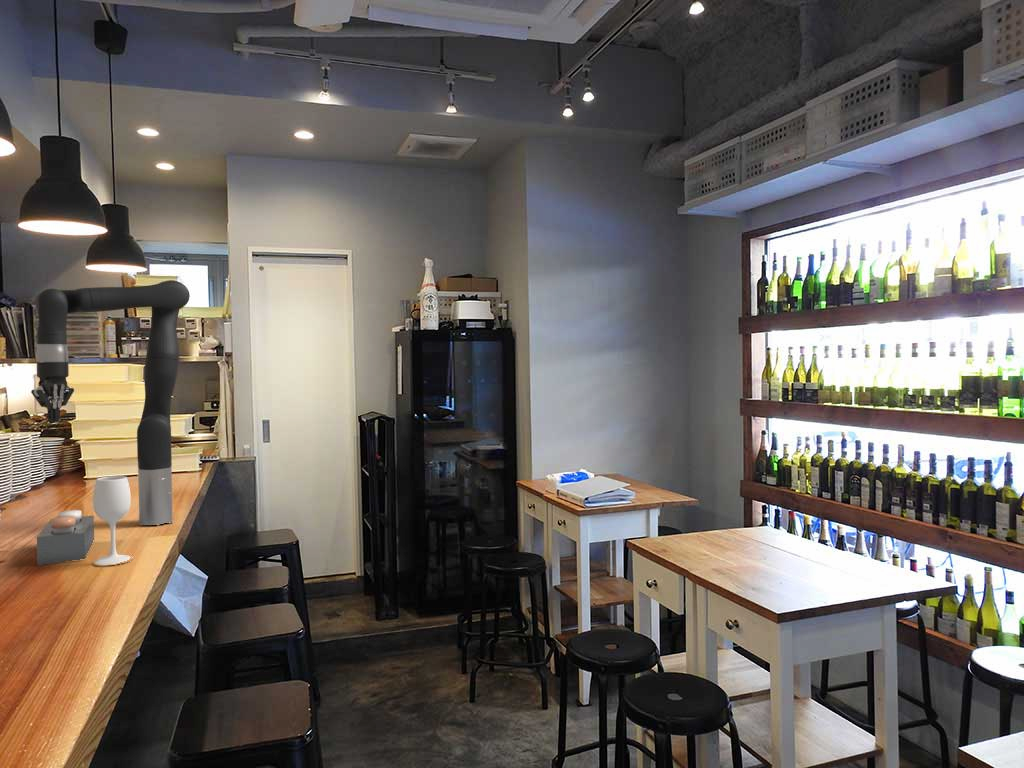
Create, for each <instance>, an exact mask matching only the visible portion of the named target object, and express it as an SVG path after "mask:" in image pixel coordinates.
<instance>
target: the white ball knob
mask: <svg viewBox="0 0 1024 768" xmlns="http://www.w3.org/2000/svg"><path fill="white" fill-rule="evenodd" d="M82 515H83V514H82V510H80V509H69V510H64V511H60V512H58V517H64V516H74V517H76V522H80V519H82Z"/></svg>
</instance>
